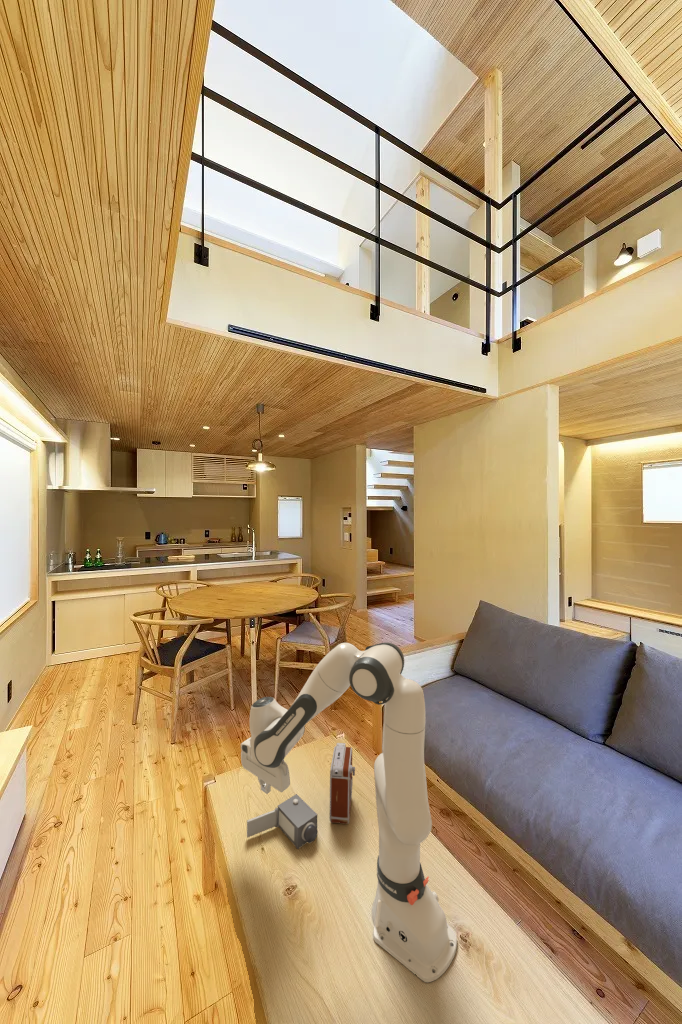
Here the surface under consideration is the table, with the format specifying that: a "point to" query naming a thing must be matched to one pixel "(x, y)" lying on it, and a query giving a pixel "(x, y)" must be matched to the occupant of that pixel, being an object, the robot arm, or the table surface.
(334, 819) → the cine camera
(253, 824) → the side door
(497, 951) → the table surface
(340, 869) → the table surface
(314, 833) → the camera body
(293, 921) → the table surface
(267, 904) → the table surface
